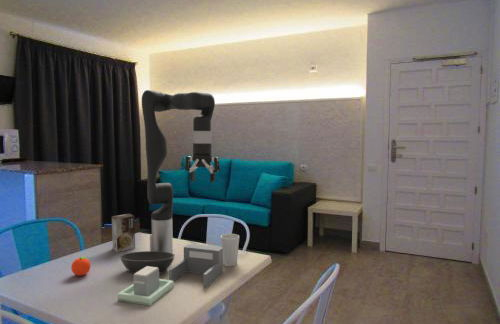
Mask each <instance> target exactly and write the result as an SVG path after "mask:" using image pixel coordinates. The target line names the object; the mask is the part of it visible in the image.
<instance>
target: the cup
mask: <svg viewBox="0 0 500 324" xmlns="http://www.w3.org/2000/svg"><path fill="white" fill-rule="evenodd" d="M239 243H240V235H239V234H236V233H226V234H221V235H220V244H221V248H223V266H224V267H235V266H237V265H238V258H239V257H238V255H239Z"/></svg>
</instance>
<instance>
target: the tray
mask: <svg viewBox="0 0 500 324" xmlns="http://www.w3.org/2000/svg"><path fill="white" fill-rule="evenodd" d="M174 282H175V281H171V280H169V279H162V278H159V288H158V289H157V290H156V291H154V292H153V293H152V294H150V295H149V296H148V297H147V296H141V295H135V294H134V283H132V284H131V285H129V286H127V287H126V288H124V289H123V290H121V291H119V292H118V293H117V301H118V302H126V303H129V304H136V305H137V304H138V305H142V306H148V307H151V306H152V305H154V304H155V303H156V302H157V301H158V300H159V299H161V298H162V297H163V296H165V295H166V294H167V293H168V292H170V291H171V290H173V288H174V287H175V284H174Z"/></svg>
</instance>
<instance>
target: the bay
mask: <svg viewBox="0 0 500 324" xmlns="http://www.w3.org/2000/svg"><path fill="white" fill-rule="evenodd" d="M223 266H224V265H223V248H222V247H218V246H217V247H216V246H208V245H198V244H190V243H189V244H186V245H184V246H183V259H182V260H180V261H178V263H176V264H174V265H173V266H172V267H169V268H168V280H171V281H174V282H175V281H176V280H177V279H179V278H180V277H182V276H183V275H184V274H185V273H196V274H202V276H203V277H202V279H203V280H202V284H203V285H202V288H208V287H209V286H210V285H211V284H212V283H213V282H214V281H215V280H216V279H217V278H218V277H220V275H222V273H224V271H223V270H224V269H223V268H224V267H223Z"/></svg>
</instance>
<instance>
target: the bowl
mask: <svg viewBox="0 0 500 324" xmlns="http://www.w3.org/2000/svg"><path fill="white" fill-rule="evenodd" d="M119 258H120V261H121V263H122V264H123V266H124V268H125V269H127V271H128V272H130V273H132V274H135V273H136V272H138V271H140V270H141V269H143V268H145V267H146V266H150V267H158V269H159V274H162V273H164V272H166V271H167V270H169V269H170V266H171V265H172V263H173V262H174V259H175V254H174V253H169V252H161V251H150V250H145V251H142V250H141V251H131V252H127V253H123V254H122V255H120V256H119Z"/></svg>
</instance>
